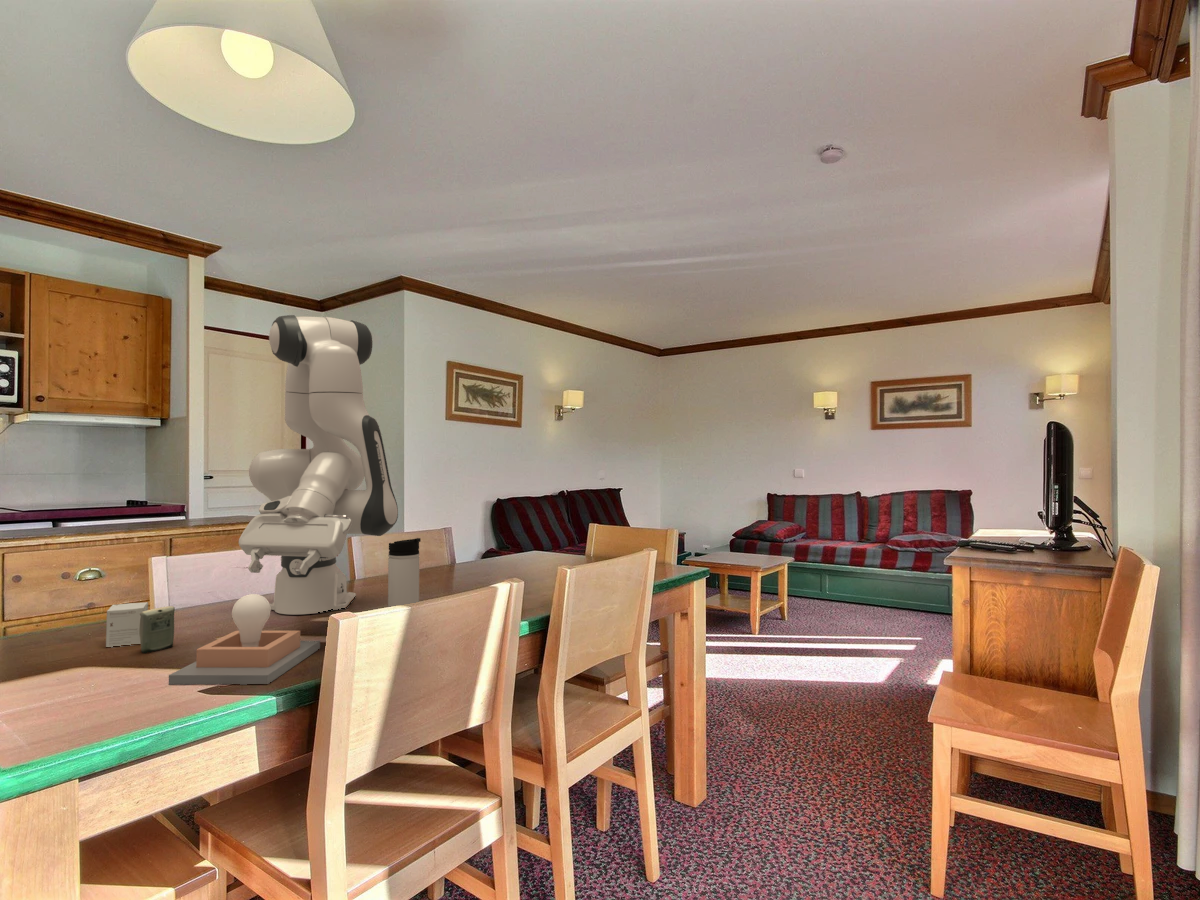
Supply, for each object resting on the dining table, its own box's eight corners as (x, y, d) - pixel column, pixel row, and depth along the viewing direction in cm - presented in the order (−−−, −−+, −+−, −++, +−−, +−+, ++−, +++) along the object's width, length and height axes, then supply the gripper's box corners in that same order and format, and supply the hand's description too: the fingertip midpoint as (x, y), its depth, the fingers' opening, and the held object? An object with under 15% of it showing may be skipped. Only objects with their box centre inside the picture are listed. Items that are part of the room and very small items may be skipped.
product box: (104, 648, 125) (105, 610, 125) (111, 640, 130) (111, 604, 130) (143, 644, 128) (144, 607, 128) (148, 637, 133) (148, 601, 133)
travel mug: (411, 638, 132) (412, 540, 133) (382, 636, 134) (382, 539, 134) (425, 630, 139) (426, 536, 139) (397, 628, 140) (398, 536, 140)
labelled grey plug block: (159, 654, 121) (159, 611, 121) (131, 654, 121) (131, 611, 121) (178, 645, 127) (179, 604, 127) (151, 645, 127) (152, 604, 127)
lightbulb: (246, 663, 111) (248, 599, 111) (222, 658, 113) (224, 595, 114) (276, 654, 116) (279, 593, 117) (253, 649, 119) (255, 589, 119)
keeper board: (236, 648, 125) (237, 625, 125) (319, 648, 125) (320, 625, 125) (168, 684, 105) (169, 656, 105) (267, 684, 105) (267, 656, 105)
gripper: (360, 525, 132) (334, 583, 123) (268, 523, 135) (235, 579, 125) (349, 505, 128) (321, 563, 118) (253, 503, 131) (219, 560, 121)
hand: (276, 571), depth 122 cm, fingers open, 8 cm apart
